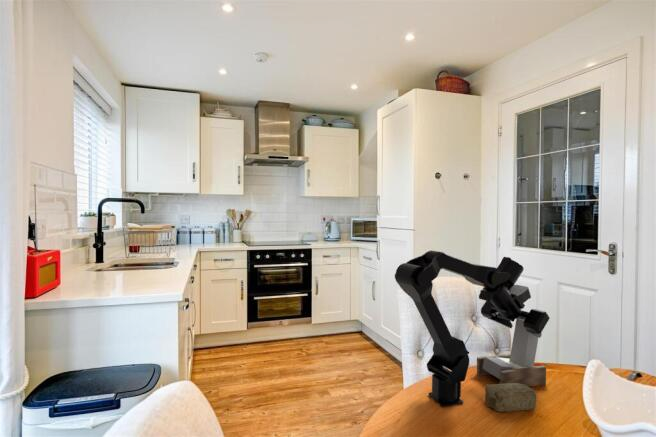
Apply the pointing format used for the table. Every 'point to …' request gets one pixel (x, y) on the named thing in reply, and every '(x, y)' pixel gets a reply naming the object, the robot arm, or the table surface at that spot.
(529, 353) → the granite pillar
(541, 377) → the frame
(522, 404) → the stone block
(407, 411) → the table surface
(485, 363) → the trapdoor flap
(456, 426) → the table surface
